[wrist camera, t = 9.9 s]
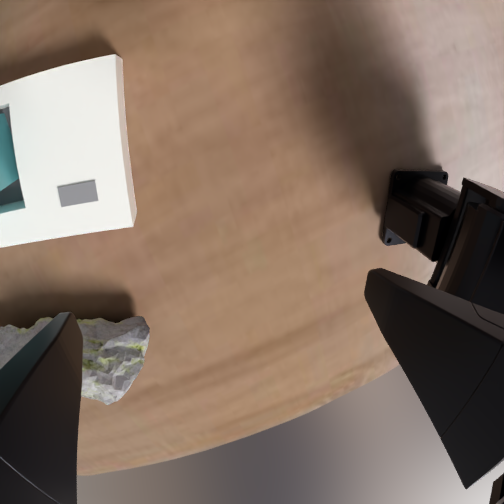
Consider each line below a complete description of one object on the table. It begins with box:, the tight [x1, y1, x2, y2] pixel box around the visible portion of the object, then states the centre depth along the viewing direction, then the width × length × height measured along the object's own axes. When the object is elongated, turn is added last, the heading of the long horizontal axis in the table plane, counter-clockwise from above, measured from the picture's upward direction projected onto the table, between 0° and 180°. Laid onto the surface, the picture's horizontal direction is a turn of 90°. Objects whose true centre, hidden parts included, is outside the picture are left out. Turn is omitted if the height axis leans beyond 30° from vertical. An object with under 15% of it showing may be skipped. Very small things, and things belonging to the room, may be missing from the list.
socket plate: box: [0, 54, 137, 248], centre depth 15 cm, size 14×10×3 cm
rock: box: [0, 316, 150, 405], centre depth 21 cm, size 16×7×7 cm, turn 88°
